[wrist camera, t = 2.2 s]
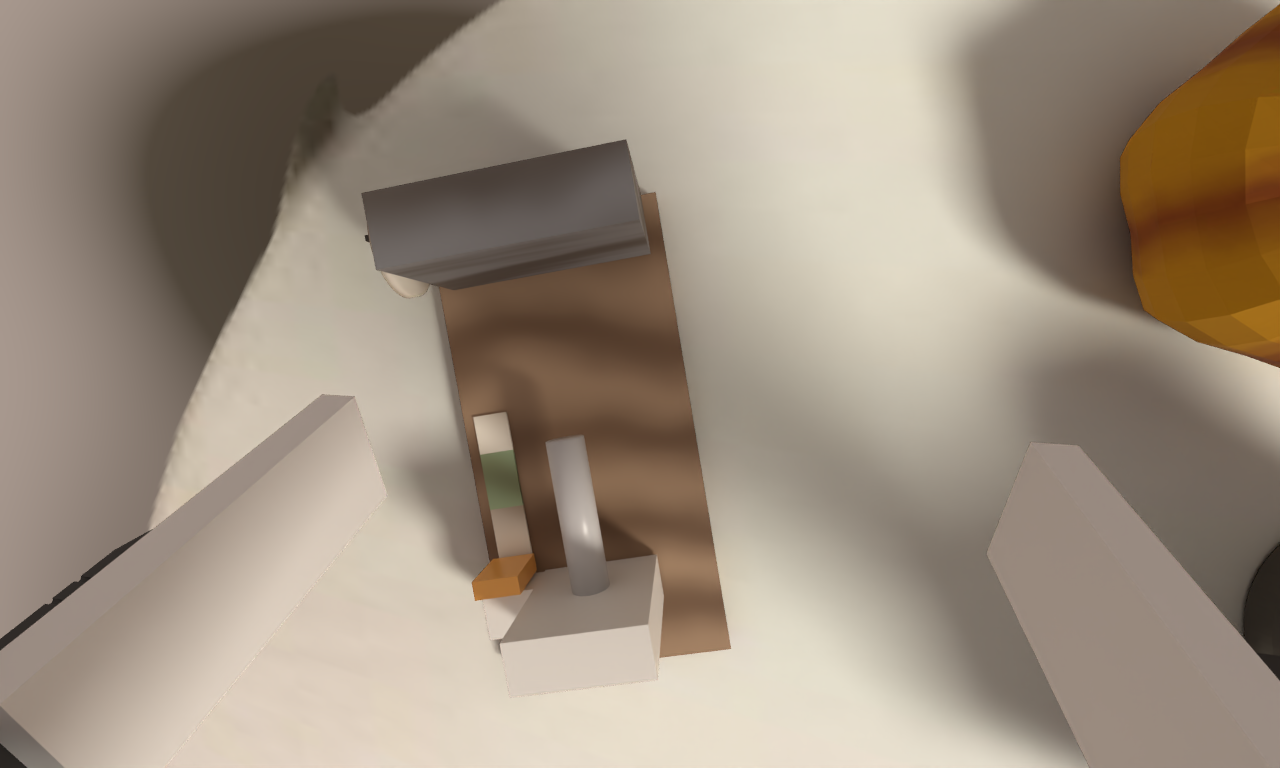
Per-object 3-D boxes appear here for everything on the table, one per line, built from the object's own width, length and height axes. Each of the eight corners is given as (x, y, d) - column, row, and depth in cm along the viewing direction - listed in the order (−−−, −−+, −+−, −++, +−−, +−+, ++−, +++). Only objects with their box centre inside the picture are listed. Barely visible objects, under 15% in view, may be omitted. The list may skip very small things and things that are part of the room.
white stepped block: (663, 596, 39) (657, 680, 29) (505, 617, 40) (446, 705, 30) (634, 420, 38) (617, 444, 29) (473, 445, 39) (403, 478, 29)
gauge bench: (729, 637, 41) (747, 750, 29) (517, 664, 42) (455, 782, 31) (654, 183, 39) (642, 115, 28) (436, 226, 41) (339, 177, 29)
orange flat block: (537, 569, 39) (520, 594, 35) (495, 575, 40) (475, 600, 36) (533, 553, 39) (517, 575, 35) (492, 559, 40) (471, 582, 36)
